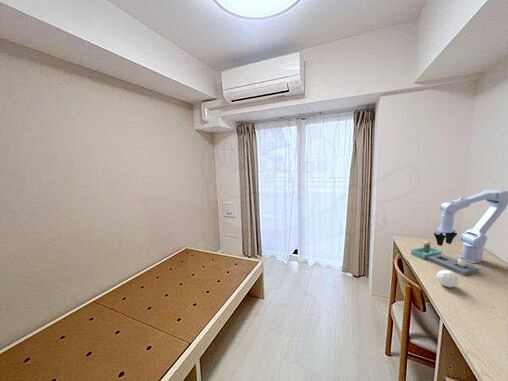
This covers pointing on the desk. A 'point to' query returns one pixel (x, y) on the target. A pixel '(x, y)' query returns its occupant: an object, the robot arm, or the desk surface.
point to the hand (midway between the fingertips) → (444, 244)
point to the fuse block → (452, 264)
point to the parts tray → (419, 253)
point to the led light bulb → (426, 247)
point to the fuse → (461, 261)
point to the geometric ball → (447, 278)
